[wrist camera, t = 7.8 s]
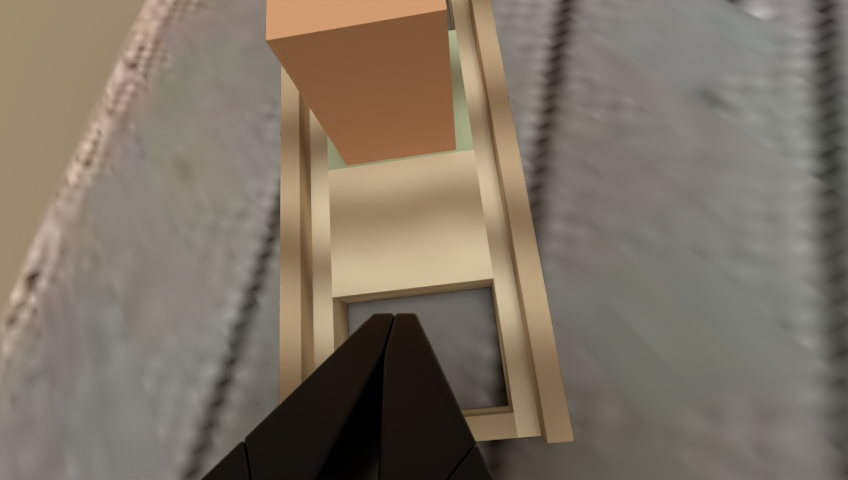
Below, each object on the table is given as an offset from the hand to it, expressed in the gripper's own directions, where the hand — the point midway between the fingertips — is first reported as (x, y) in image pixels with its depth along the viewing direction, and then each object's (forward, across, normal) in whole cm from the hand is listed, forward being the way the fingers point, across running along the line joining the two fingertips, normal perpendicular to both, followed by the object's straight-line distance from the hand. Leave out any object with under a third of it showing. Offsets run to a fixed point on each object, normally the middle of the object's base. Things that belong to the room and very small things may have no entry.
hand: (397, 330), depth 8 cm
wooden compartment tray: (+17, +2, +1) cm, 17 cm away
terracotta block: (+17, +2, -2) cm, 17 cm away
